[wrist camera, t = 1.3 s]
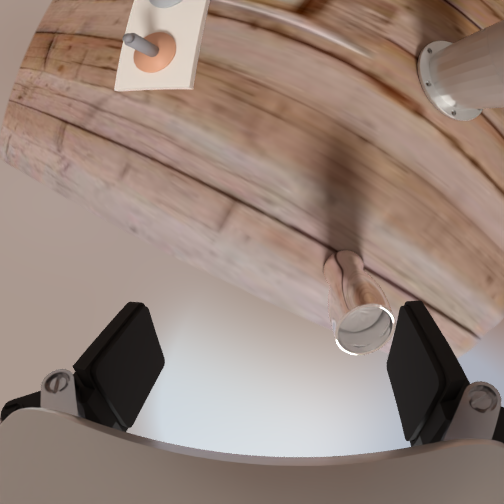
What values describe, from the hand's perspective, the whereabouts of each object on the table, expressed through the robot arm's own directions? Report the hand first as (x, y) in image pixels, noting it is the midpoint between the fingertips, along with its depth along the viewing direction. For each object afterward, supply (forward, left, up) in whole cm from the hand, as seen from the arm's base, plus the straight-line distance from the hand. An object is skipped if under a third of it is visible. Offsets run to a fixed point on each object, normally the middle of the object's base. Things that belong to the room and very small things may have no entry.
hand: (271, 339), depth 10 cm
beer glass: (-4, +13, -30) cm, 33 cm away
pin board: (+6, -31, -30) cm, 43 cm away
